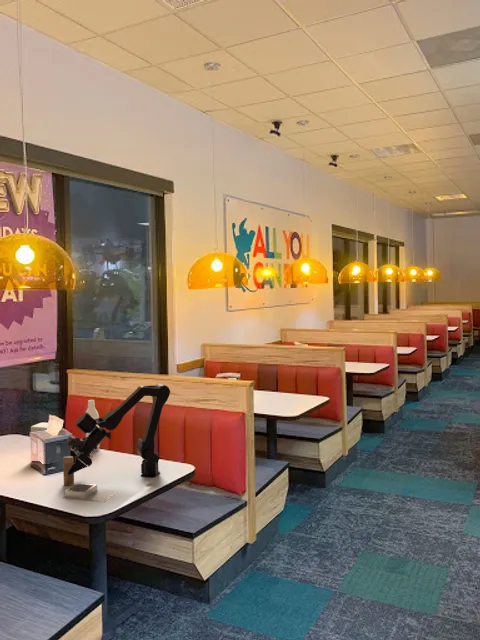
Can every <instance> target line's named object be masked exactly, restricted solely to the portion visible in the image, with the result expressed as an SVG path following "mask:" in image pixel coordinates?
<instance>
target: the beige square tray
mask: <svg viewBox="0 0 480 640" xmlns="http://www.w3.org/2000/svg"><path fill="white" fill-rule="evenodd" d="M78 490H82V491H78ZM83 491H84V492H83ZM97 491H98V485H97V484H91V483H81V482H80V483H79V482H77V483H74V485H72V486H69V487H68V488H67V489H65V490H64V496H65V497H70V498H79V499H86V498H88V497H89V496H91V495H92V494H94V493H95V492H97Z"/></svg>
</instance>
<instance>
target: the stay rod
mask: <svg viewBox="0 0 480 640" xmlns="http://www.w3.org/2000/svg"><path fill="white" fill-rule="evenodd" d="M62 464H63V466H62V468H63V469H62V470H63V471H62V472H63V486H65V487H72V486H73V485H75V473H73V474H70V475H68V474H67V473H68V471H69V470H70V468H71V467H72V465H73V464H74V462H73V456H69V455H68V456H67V455H66V456H64V457H62Z"/></svg>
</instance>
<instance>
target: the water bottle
mask: <svg viewBox="0 0 480 640" xmlns="http://www.w3.org/2000/svg"><path fill="white" fill-rule="evenodd" d="M95 405H96V404H95V399H89V400H88V401H87V409H86V411H85V413H86V412H87V413H88V414H89V415H90V416H91V417H92V418H93V419H97V418H100V415H99V412H98V410H97V409H96V406H95ZM96 426H97V427H98V428H99V429H100V426H98V425H96ZM94 429H95V428H94ZM89 434H90V433H86V434H85V437H87V436H88V435H89ZM100 446H101V443H100V444H99V445H98V446H97V450H96V449H94V451H95V452H96V451H98V450H99V448H100ZM94 451H93V452H94Z"/></svg>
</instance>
